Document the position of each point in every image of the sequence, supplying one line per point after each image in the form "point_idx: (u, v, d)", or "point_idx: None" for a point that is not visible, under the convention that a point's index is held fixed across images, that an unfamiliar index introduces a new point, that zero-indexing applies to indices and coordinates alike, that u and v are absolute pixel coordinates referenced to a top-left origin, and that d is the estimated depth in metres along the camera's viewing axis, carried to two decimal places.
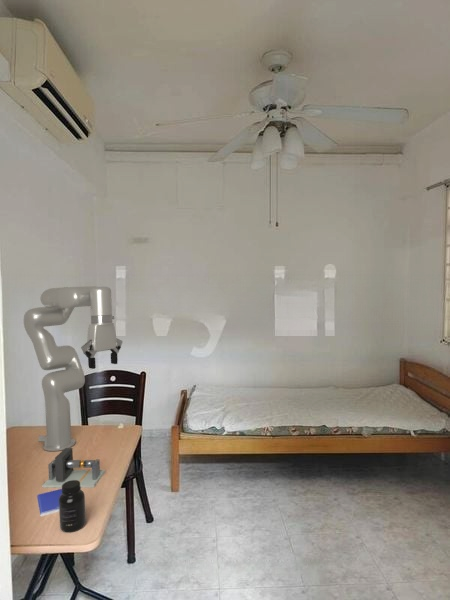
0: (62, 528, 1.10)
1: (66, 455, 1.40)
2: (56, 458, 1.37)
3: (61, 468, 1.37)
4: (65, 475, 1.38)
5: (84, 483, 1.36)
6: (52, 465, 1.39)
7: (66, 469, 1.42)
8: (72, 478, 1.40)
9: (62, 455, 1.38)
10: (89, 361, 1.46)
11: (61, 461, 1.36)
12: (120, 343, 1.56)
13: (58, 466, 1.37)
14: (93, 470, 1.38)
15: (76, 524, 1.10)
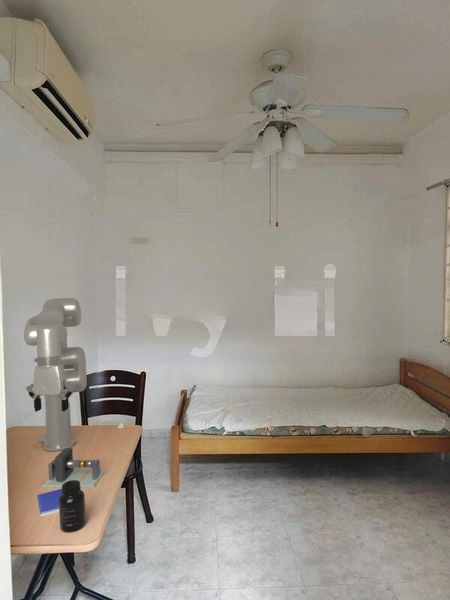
0: (62, 528, 1.10)
1: (66, 455, 1.40)
2: (56, 458, 1.37)
3: (61, 468, 1.37)
4: (65, 475, 1.38)
5: (84, 483, 1.36)
6: (52, 465, 1.39)
7: (66, 469, 1.42)
8: (72, 478, 1.40)
9: (62, 455, 1.38)
10: (67, 402, 1.40)
11: (61, 461, 1.36)
12: None
13: (58, 466, 1.37)
14: (93, 470, 1.38)
15: (76, 524, 1.10)
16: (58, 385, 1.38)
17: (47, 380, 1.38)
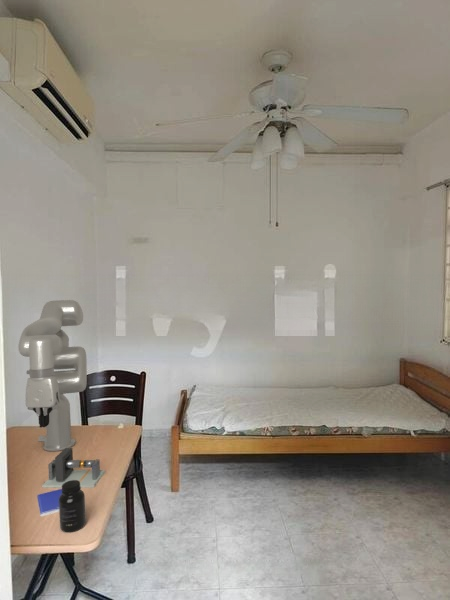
0: (62, 528, 1.10)
1: (66, 455, 1.40)
2: (56, 458, 1.37)
3: (61, 468, 1.37)
4: (65, 475, 1.38)
5: (84, 483, 1.36)
6: (52, 465, 1.39)
7: (66, 469, 1.42)
8: (72, 478, 1.40)
9: (62, 455, 1.38)
10: (48, 418, 1.40)
11: (61, 461, 1.36)
12: None
13: (58, 466, 1.37)
14: (93, 470, 1.38)
15: (76, 524, 1.10)
16: (51, 397, 1.37)
17: (40, 392, 1.37)
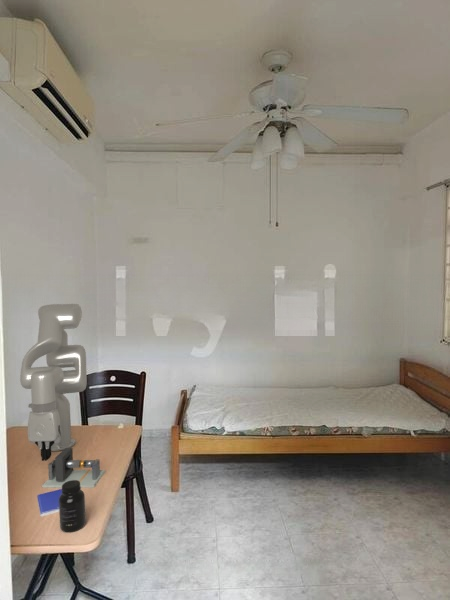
0: (62, 528, 1.10)
1: (66, 455, 1.40)
2: (56, 458, 1.37)
3: (61, 468, 1.37)
4: (65, 475, 1.38)
5: (84, 483, 1.36)
6: (52, 465, 1.39)
7: (66, 469, 1.42)
8: (72, 478, 1.40)
9: (62, 455, 1.38)
10: (49, 451, 1.41)
11: (61, 461, 1.36)
12: None
13: (58, 466, 1.37)
14: (93, 470, 1.38)
15: (76, 524, 1.10)
16: (53, 431, 1.38)
17: (42, 426, 1.38)
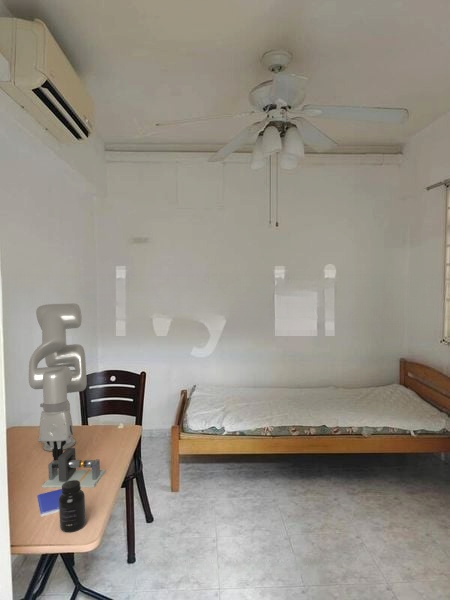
0: (62, 528, 1.10)
1: (69, 455, 1.40)
2: (59, 458, 1.36)
3: (64, 468, 1.36)
4: (68, 475, 1.38)
5: (84, 483, 1.36)
6: (52, 465, 1.39)
7: (69, 469, 1.42)
8: (72, 478, 1.40)
9: (65, 455, 1.38)
10: (61, 451, 1.40)
11: (64, 461, 1.36)
12: None
13: (61, 466, 1.37)
14: (93, 470, 1.38)
15: (76, 524, 1.10)
16: (65, 431, 1.37)
17: (54, 426, 1.37)
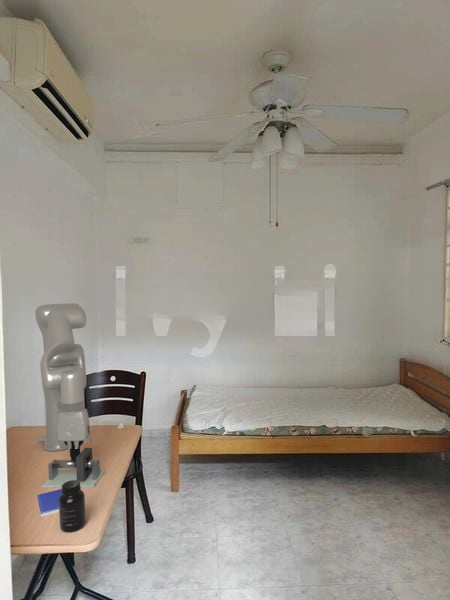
0: (62, 528, 1.10)
1: (86, 455, 1.39)
2: (77, 458, 1.36)
3: (82, 468, 1.36)
4: (86, 475, 1.38)
5: (84, 483, 1.36)
6: (52, 465, 1.39)
7: (86, 469, 1.42)
8: (72, 478, 1.40)
9: (83, 455, 1.38)
10: (79, 451, 1.40)
11: (82, 461, 1.36)
12: None
13: (79, 466, 1.36)
14: (93, 470, 1.38)
15: (76, 524, 1.10)
16: (83, 431, 1.37)
17: (71, 426, 1.37)
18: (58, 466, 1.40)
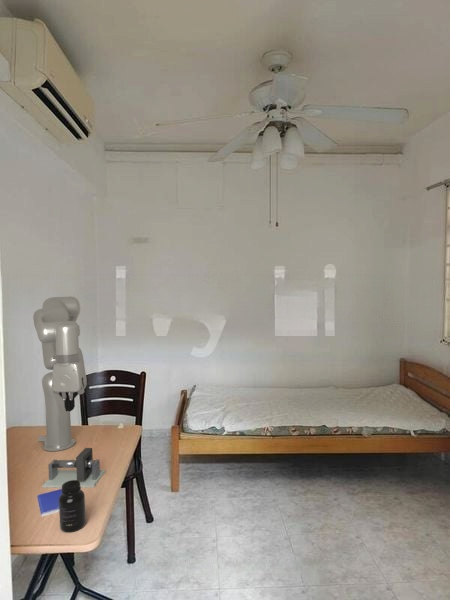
0: (62, 528, 1.10)
1: (87, 455, 1.39)
2: (77, 458, 1.36)
3: (82, 468, 1.36)
4: (86, 475, 1.38)
5: (84, 483, 1.36)
6: (52, 465, 1.39)
7: (86, 469, 1.42)
8: (72, 478, 1.40)
9: (83, 455, 1.38)
10: (73, 402, 1.43)
11: (82, 461, 1.36)
12: None
13: (79, 466, 1.36)
14: (93, 470, 1.38)
15: (76, 524, 1.10)
16: (77, 382, 1.40)
17: (66, 377, 1.40)
18: (58, 466, 1.40)
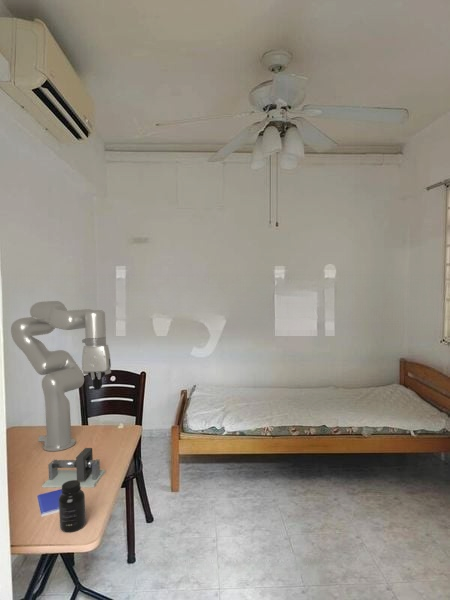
0: (62, 528, 1.10)
1: (87, 455, 1.39)
2: (77, 458, 1.36)
3: (82, 468, 1.36)
4: (86, 475, 1.38)
5: (84, 483, 1.36)
6: (52, 465, 1.39)
7: (86, 469, 1.42)
8: (72, 478, 1.40)
9: (83, 455, 1.38)
10: (101, 382, 1.57)
11: (82, 461, 1.36)
12: None
13: (79, 466, 1.36)
14: (93, 470, 1.38)
15: (76, 524, 1.10)
16: (105, 363, 1.54)
17: (95, 358, 1.54)
18: (58, 466, 1.40)
